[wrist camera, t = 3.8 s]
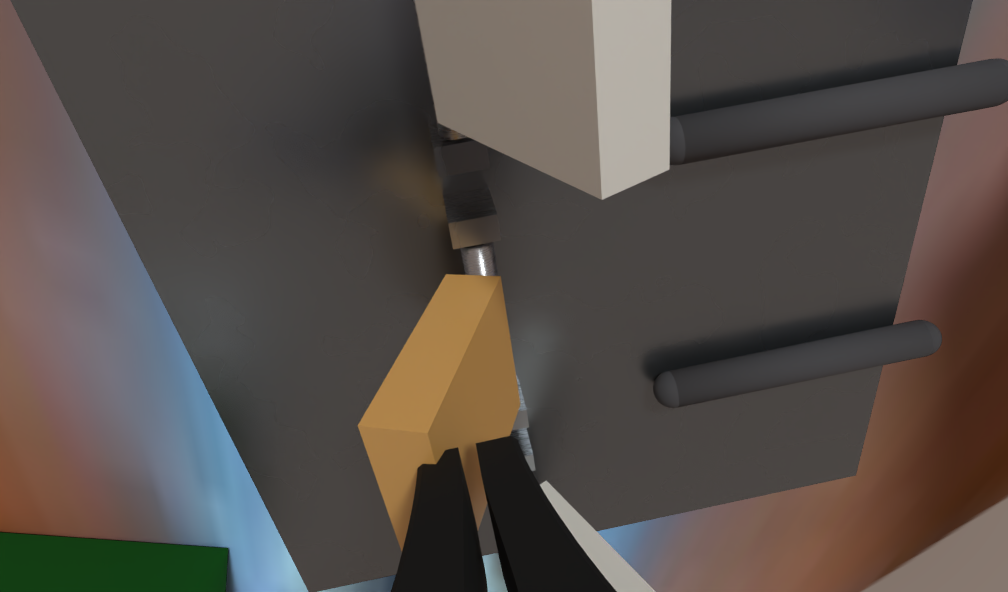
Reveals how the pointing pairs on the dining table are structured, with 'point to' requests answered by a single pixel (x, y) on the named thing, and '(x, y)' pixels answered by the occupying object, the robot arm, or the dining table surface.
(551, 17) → the ivory paddle
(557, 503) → the ivory paddle
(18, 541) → the milk carton
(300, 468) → the panel
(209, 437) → the dining table surface
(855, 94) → the cords
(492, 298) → the orange paddle
